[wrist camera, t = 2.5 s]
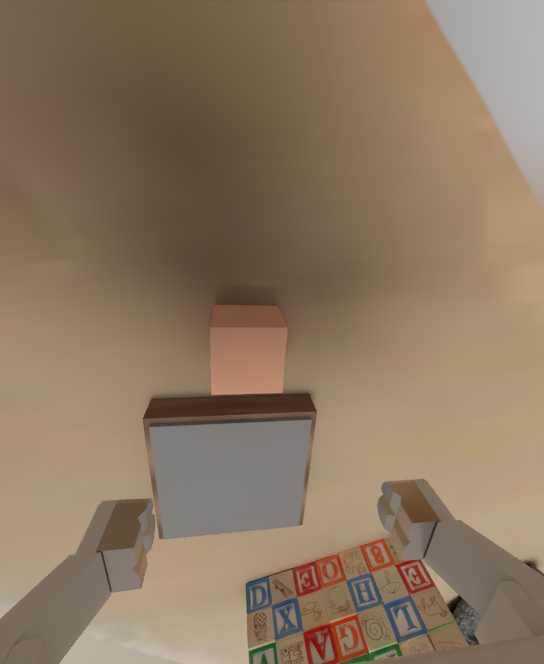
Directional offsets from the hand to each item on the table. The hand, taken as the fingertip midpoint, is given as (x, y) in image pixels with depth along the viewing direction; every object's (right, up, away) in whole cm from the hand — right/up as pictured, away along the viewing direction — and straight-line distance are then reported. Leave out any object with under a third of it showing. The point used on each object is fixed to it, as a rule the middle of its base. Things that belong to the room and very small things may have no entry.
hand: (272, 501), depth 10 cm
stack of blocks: (+8, -25, +28) cm, 38 cm away
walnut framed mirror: (-4, -6, +18) cm, 20 cm away
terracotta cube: (-2, +6, +14) cm, 15 cm away
